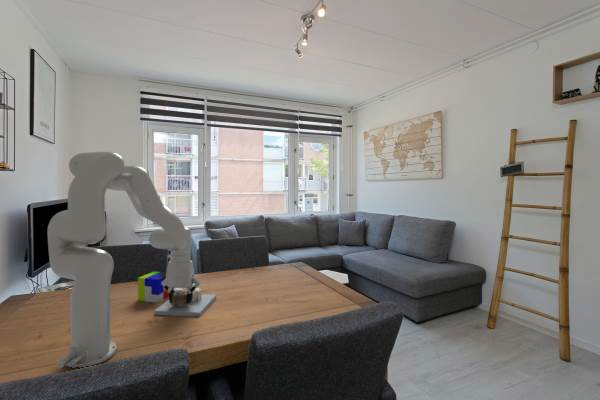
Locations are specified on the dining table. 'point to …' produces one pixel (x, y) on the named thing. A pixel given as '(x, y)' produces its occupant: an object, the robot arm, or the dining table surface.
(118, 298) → the dining table surface
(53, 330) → the dining table surface
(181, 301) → the walnut gear
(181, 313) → the gear board
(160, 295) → the puzzle toy
